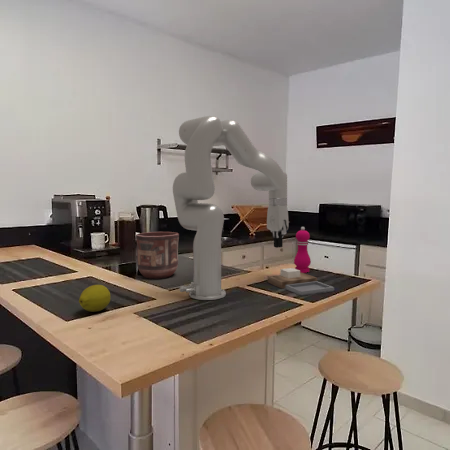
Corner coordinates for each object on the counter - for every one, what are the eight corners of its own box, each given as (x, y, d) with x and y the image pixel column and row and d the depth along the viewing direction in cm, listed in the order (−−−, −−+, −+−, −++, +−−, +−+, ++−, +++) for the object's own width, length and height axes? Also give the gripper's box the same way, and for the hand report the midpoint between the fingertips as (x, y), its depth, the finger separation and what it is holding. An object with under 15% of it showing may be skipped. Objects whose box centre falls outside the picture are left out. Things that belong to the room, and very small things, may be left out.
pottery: (175, 280, 151) (175, 236, 150) (132, 280, 152) (131, 236, 150) (181, 271, 169) (181, 231, 168) (142, 271, 169) (142, 231, 168)
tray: (301, 295, 129) (301, 291, 129) (285, 289, 138) (285, 284, 138) (334, 291, 135) (334, 287, 134) (316, 284, 144) (316, 281, 144)
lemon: (102, 304, 120) (101, 280, 119) (118, 309, 116) (117, 283, 115) (71, 313, 111) (70, 287, 111) (86, 319, 107) (85, 291, 106)
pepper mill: (291, 272, 166) (292, 227, 164) (296, 269, 172) (297, 225, 170) (308, 273, 163) (308, 227, 161) (312, 270, 169) (313, 226, 167)
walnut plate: (281, 288, 139) (281, 281, 138) (267, 282, 148) (267, 276, 147) (317, 284, 145) (317, 277, 145) (301, 278, 154) (301, 272, 154)
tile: (288, 278, 144) (288, 271, 144) (280, 275, 149) (280, 269, 149) (300, 277, 146) (300, 270, 146) (292, 274, 151) (292, 268, 151)
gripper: (260, 202, 159) (261, 245, 161) (279, 203, 145) (280, 250, 147) (276, 201, 162) (276, 243, 164) (296, 203, 148) (296, 249, 150)
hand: (278, 247), depth 156 cm, fingers closed
